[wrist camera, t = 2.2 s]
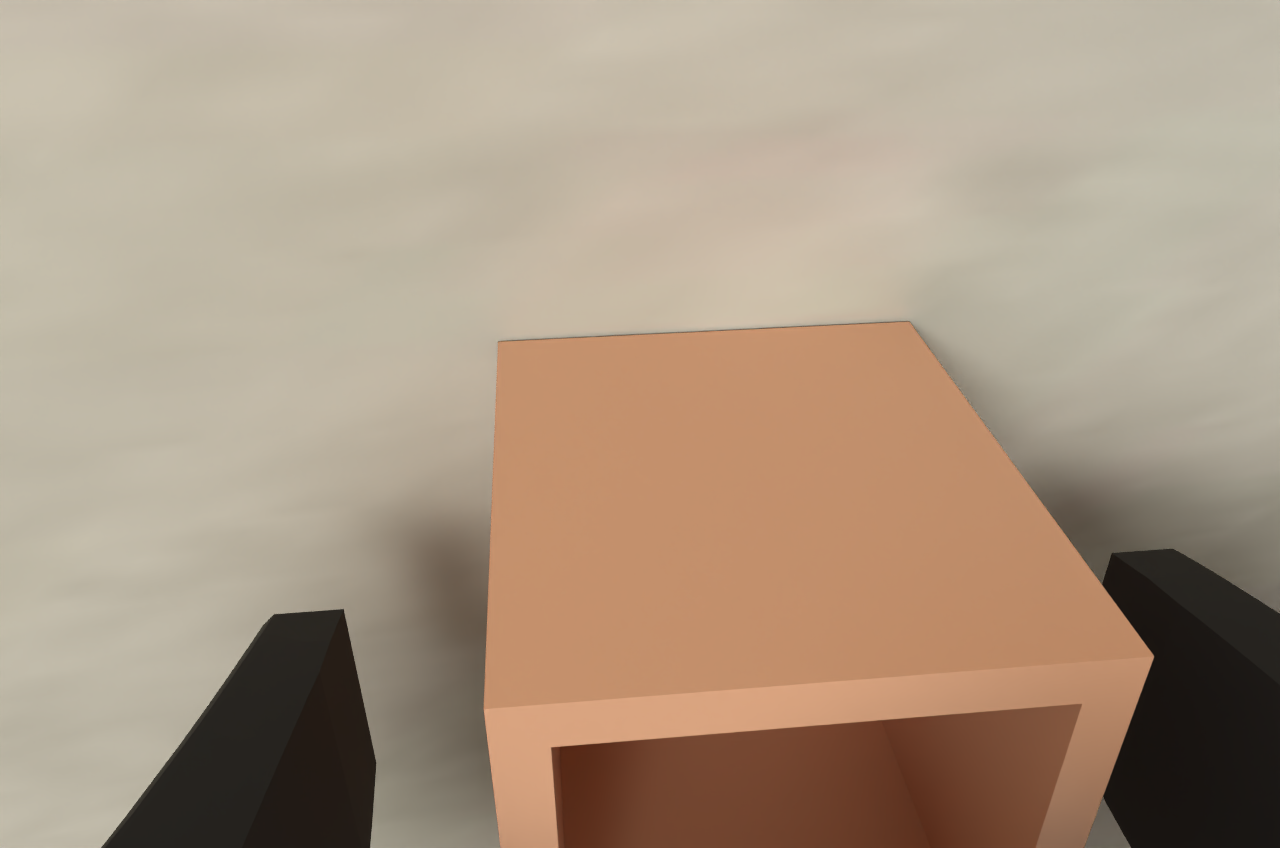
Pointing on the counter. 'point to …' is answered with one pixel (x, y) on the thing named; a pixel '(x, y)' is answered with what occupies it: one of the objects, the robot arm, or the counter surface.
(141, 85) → the counter surface
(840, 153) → the counter surface
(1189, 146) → the counter surface
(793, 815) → the box
